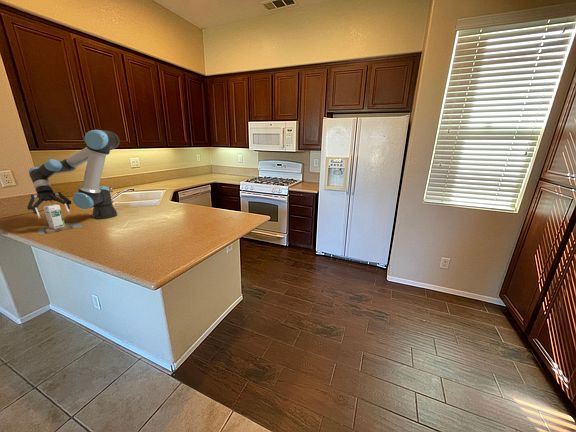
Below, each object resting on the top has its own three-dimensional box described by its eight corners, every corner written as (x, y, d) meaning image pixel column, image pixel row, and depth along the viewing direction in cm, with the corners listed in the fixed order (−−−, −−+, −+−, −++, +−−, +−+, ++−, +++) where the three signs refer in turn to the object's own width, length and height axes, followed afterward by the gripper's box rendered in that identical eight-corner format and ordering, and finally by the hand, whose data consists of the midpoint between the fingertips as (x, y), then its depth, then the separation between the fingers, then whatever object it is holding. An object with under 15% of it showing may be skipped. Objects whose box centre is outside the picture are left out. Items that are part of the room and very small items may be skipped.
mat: (77, 222, 166) (77, 222, 166) (82, 227, 157) (82, 226, 157) (37, 230, 151) (37, 229, 151) (40, 235, 142) (40, 234, 142)
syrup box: (54, 229, 148) (48, 206, 144) (49, 227, 150) (42, 205, 146) (65, 226, 153) (59, 204, 149) (60, 225, 155) (54, 203, 151)
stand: (69, 224, 160) (68, 222, 160) (73, 228, 153) (72, 226, 153) (44, 229, 151) (43, 227, 151) (47, 233, 144) (46, 231, 144)
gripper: (68, 189, 165) (79, 214, 161) (15, 194, 147) (26, 222, 142) (68, 182, 161) (80, 207, 156) (14, 187, 142) (25, 216, 138)
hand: (54, 215), depth 149 cm, fingers open, 13 cm apart
